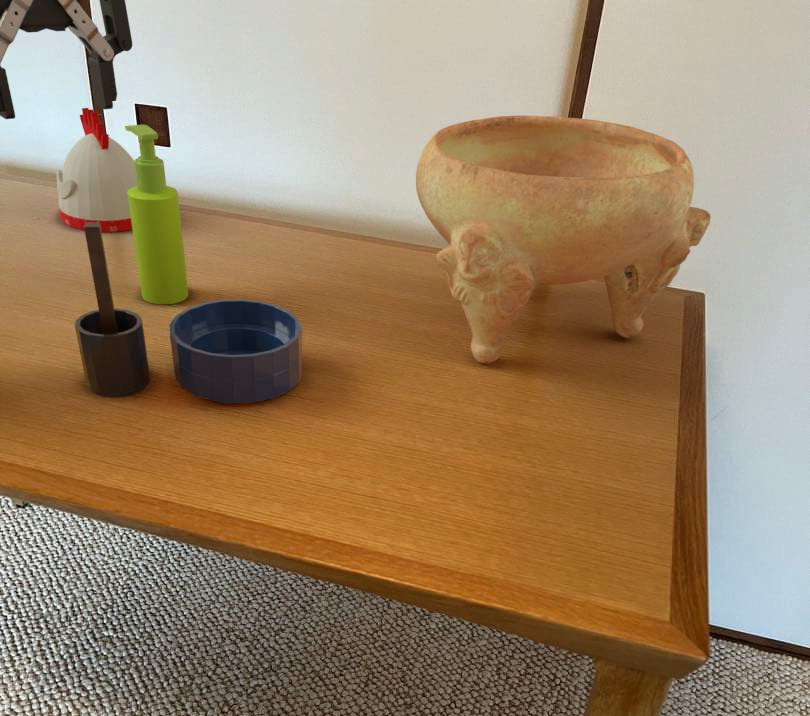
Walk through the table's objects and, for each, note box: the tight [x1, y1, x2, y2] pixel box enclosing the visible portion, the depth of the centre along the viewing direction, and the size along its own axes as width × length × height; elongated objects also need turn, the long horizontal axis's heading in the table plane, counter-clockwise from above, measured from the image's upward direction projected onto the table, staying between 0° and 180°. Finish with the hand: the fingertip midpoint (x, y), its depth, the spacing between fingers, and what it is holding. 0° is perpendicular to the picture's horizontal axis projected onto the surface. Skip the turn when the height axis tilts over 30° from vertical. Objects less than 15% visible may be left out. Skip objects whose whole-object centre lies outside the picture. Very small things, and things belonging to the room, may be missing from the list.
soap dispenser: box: [124, 124, 189, 305], centre depth 101 cm, size 6×7×20 cm
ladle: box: [83, 222, 118, 334], centre depth 83 cm, size 4×4×16 cm
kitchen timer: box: [55, 107, 137, 233], centre depth 123 cm, size 14×14×15 cm
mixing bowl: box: [169, 298, 303, 404], centre depth 90 cm, size 14×14×6 cm
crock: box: [74, 307, 151, 398], centre depth 87 cm, size 7×7×7 cm
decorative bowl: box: [415, 115, 711, 365], centre depth 101 cm, size 34×35×23 cm
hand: (57, 112), depth 70 cm, fingers open, 8 cm apart
